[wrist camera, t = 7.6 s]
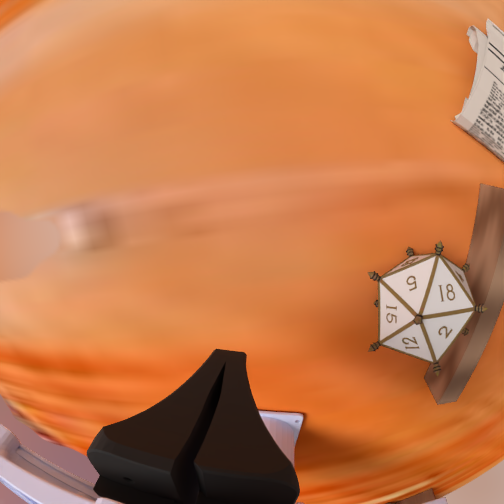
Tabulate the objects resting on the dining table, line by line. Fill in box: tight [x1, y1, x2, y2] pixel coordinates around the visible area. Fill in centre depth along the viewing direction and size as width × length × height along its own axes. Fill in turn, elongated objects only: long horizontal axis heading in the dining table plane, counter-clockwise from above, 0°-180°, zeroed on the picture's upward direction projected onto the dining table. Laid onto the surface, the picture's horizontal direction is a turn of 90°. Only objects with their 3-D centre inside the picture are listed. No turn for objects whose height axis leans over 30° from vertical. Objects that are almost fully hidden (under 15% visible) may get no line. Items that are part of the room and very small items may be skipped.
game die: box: [368, 241, 488, 376], centre depth 17 cm, size 9×8×10 cm
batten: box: [424, 184, 504, 405], centre depth 18 cm, size 19×2×4 cm, turn 177°
